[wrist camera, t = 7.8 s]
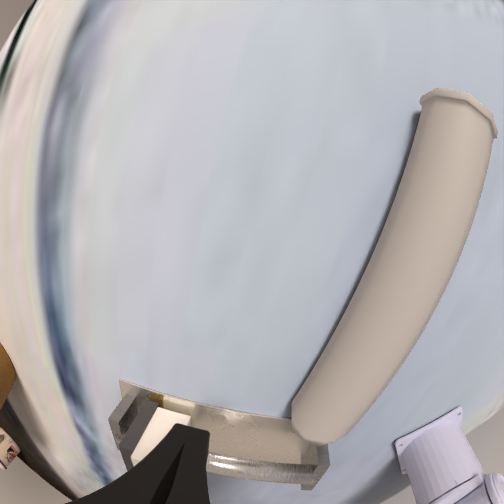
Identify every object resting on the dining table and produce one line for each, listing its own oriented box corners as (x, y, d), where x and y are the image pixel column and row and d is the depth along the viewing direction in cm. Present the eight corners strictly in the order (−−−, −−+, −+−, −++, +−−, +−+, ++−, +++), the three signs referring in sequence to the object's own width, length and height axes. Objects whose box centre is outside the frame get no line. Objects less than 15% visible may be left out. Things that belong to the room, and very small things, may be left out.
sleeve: (190, 416, 20) (169, 470, 14) (190, 449, 21) (173, 497, 15) (157, 406, 20) (130, 456, 14) (161, 441, 22) (140, 486, 16)
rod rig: (337, 421, 20) (344, 462, 15) (311, 467, 22) (313, 501, 17) (119, 378, 21) (95, 410, 17) (130, 430, 23) (112, 459, 18)
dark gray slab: (158, 403, 21) (132, 451, 15) (162, 440, 22) (142, 483, 16) (146, 399, 21) (118, 445, 15) (151, 436, 22) (130, 478, 16)
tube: (347, 453, 16) (509, 137, 10) (288, 461, 15) (470, 83, 8) (323, 408, 21) (452, 132, 15) (270, 408, 20) (407, 91, 13)
